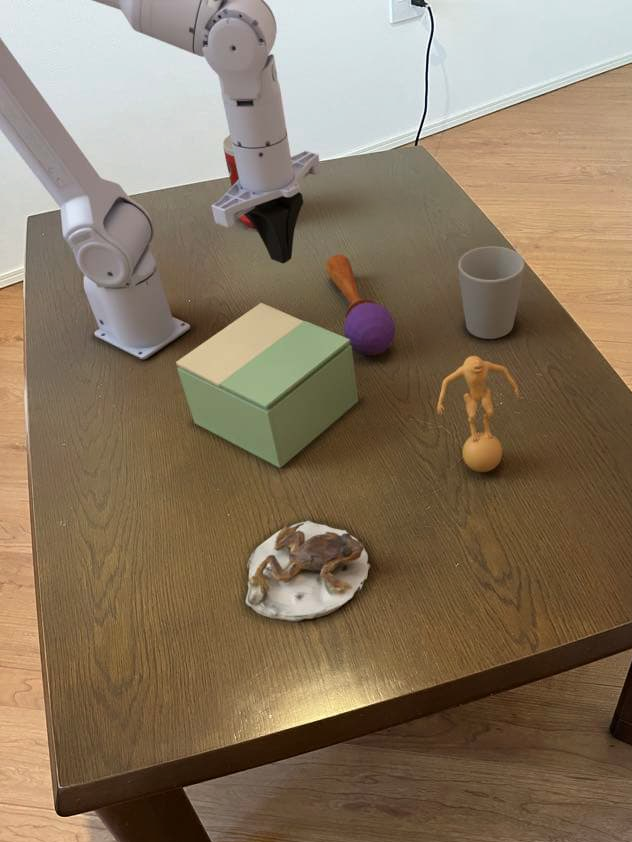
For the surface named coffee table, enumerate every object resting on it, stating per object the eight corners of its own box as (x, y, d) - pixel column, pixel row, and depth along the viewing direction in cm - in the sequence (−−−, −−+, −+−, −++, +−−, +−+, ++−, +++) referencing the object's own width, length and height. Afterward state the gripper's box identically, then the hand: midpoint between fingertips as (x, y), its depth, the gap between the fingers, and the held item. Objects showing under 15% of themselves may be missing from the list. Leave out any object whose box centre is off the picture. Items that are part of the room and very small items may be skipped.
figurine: (448, 488, 83) (446, 394, 74) (432, 449, 87) (428, 355, 78) (527, 470, 84) (534, 375, 75) (507, 433, 88) (512, 338, 79)
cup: (474, 351, 98) (475, 287, 92) (440, 308, 104) (438, 246, 98) (532, 334, 100) (536, 270, 93) (495, 293, 106) (496, 230, 100)
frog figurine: (370, 518, 81) (367, 491, 78) (370, 618, 73) (366, 591, 70) (254, 524, 82) (246, 497, 79) (241, 624, 74) (232, 598, 71)
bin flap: (176, 365, 86) (175, 362, 86) (261, 305, 93) (261, 302, 92) (219, 387, 84) (219, 384, 83) (304, 324, 90) (303, 321, 90)
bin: (194, 423, 92) (174, 362, 86) (273, 362, 99) (260, 301, 93) (280, 468, 87) (265, 406, 80) (358, 401, 93) (350, 339, 87)
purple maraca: (361, 244, 108) (403, 316, 94) (358, 287, 112) (398, 363, 98) (316, 244, 106) (352, 318, 92) (314, 288, 110) (348, 365, 96)
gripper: (236, 174, 79) (262, 299, 89) (335, 118, 86) (348, 239, 96) (185, 157, 82) (216, 280, 92) (284, 104, 89) (303, 224, 99)
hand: (281, 258), depth 94 cm, fingers closed
